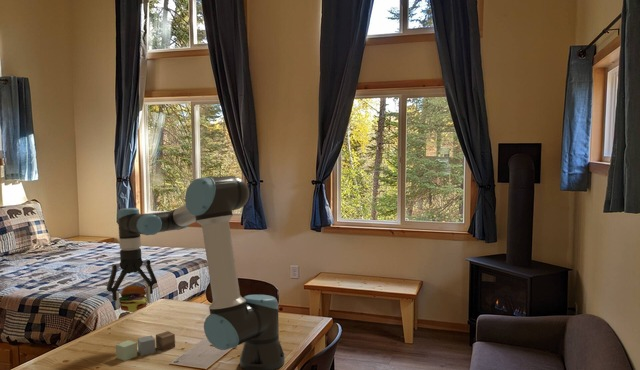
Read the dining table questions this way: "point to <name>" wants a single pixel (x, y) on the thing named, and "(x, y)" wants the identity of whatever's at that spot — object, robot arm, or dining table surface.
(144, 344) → the slate block
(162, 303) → the dining table surface
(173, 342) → the walnut block
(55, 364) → the dining table surface
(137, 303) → the cheeseburger
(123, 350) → the sage block
